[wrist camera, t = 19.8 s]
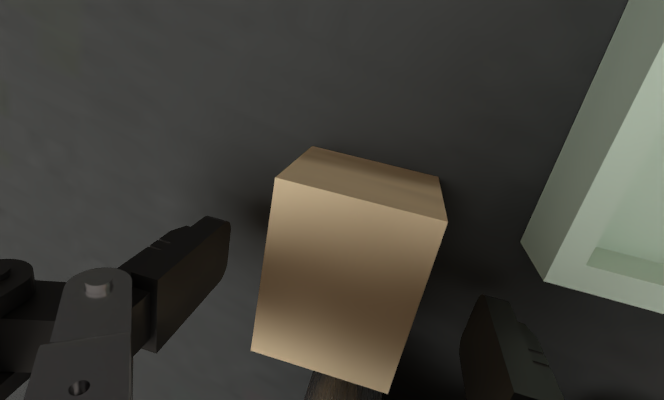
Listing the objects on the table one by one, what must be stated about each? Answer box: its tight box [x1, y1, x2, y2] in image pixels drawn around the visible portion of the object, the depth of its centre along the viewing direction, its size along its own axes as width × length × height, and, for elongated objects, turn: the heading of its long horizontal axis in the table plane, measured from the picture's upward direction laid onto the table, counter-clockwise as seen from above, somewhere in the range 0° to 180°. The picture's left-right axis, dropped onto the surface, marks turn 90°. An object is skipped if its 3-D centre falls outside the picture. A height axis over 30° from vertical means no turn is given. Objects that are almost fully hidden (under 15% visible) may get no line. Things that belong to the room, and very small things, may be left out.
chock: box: [251, 146, 448, 394], centre depth 12 cm, size 6×4×4 cm
